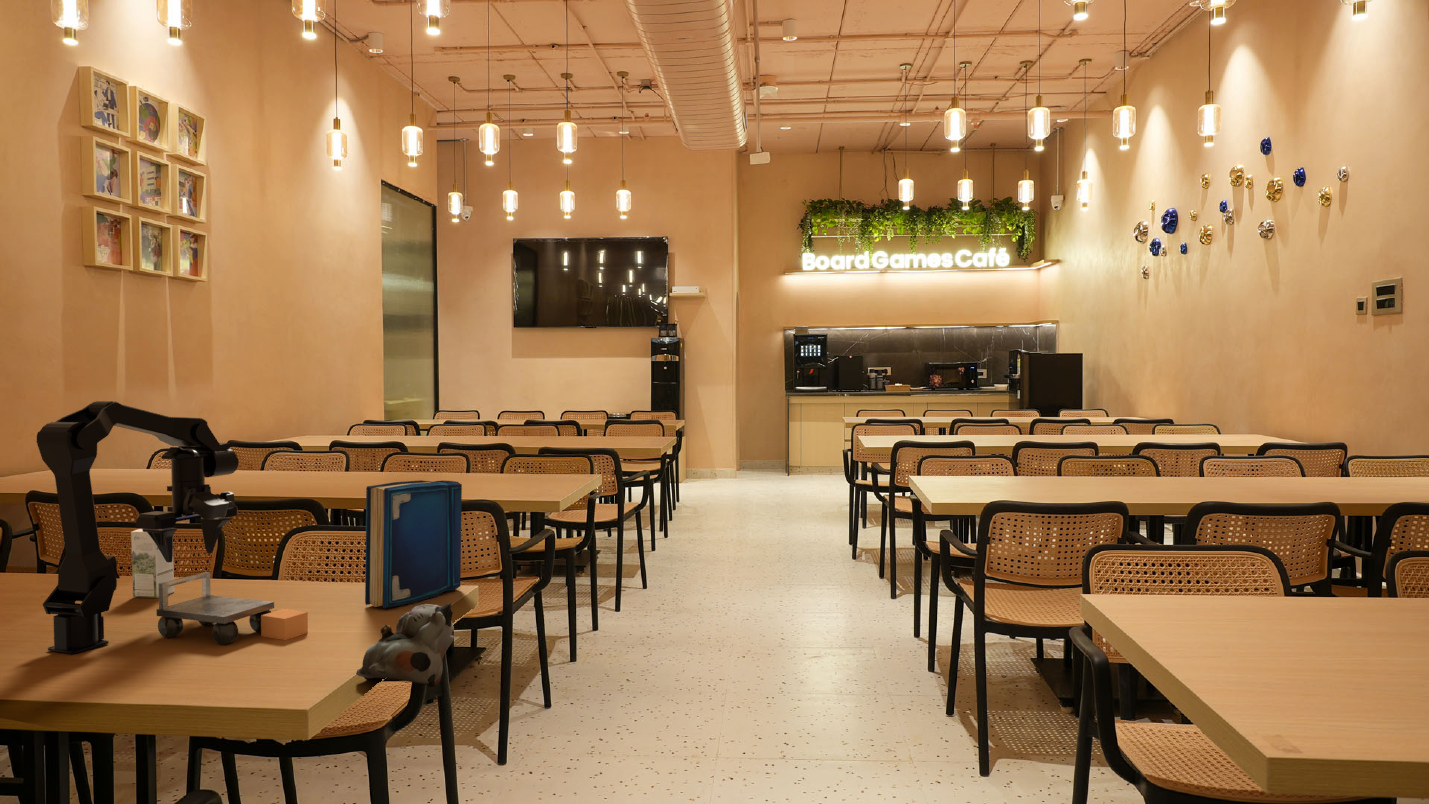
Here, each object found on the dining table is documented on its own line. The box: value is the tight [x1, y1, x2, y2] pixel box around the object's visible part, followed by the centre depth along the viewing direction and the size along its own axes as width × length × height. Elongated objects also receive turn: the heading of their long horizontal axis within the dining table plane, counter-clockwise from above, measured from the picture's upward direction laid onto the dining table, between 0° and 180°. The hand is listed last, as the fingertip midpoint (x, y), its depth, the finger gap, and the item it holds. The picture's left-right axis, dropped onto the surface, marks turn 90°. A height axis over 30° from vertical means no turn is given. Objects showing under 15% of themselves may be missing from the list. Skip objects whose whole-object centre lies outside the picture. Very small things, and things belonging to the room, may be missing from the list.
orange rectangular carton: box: [260, 608, 309, 641], centre depth 163 cm, size 5×6×4 cm
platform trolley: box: [156, 571, 275, 646], centre depth 163 cm, size 11×17×10 cm, turn 71°
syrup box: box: [130, 528, 175, 599], centre depth 193 cm, size 6×6×14 cm
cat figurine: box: [355, 602, 455, 688], centre depth 139 cm, size 15×12×14 cm
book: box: [364, 480, 463, 609], centre depth 189 cm, size 22×7×25 cm, turn 149°
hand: (189, 557), depth 178 cm, fingers open, 9 cm apart
